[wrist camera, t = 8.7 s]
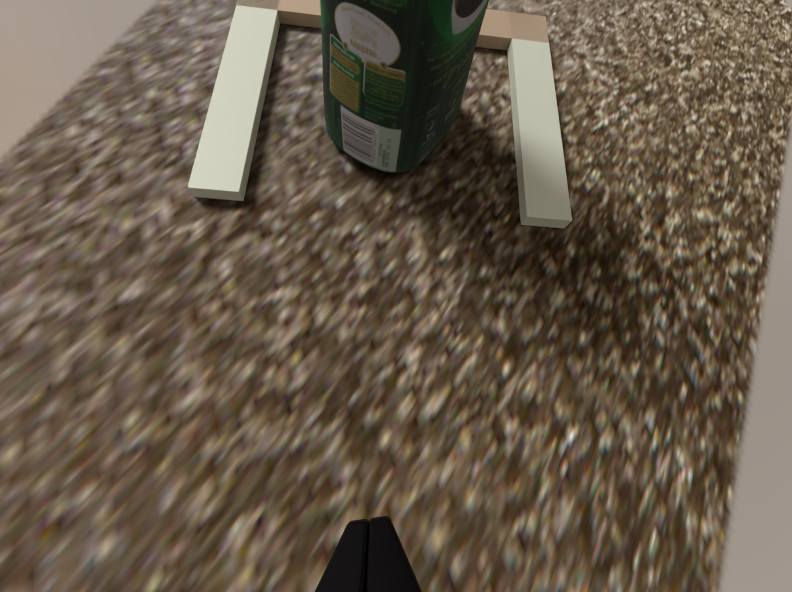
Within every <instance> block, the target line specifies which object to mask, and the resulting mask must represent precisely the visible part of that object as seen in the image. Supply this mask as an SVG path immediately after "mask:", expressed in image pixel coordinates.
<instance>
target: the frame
mask: <svg viewBox="0 0 792 592" xmlns="http://www.w3.org/2000/svg"><path fill="white" fill-rule="evenodd" d="M280 24H288V25H296V26H305V27H313V28H321V9H320V0H238V1H237V5H236V9H235V12H234V16H233V20H232V24H231V27H230V31H229V35H228V39H227V42H226V46H225V50H224V53H223V57H222V61H221V65H220V68H219V72H218V76H217V80H216V83H215V87H214V91H213V95H212V98H211V102H210V106H209V110H208V113H207V117H206V121H205V124H204V128H203V132H202V136H201V139H200V143H199V147H198V151H197V154H196V158H195V162H194V166H193V169H192V173H191V177H190V180H189V184H188V189H189V190H190V191H191V193H192V194H193V196H194V197H200V198H212V199H224V200H236V201H244V197H245V192H246V187H247V182H248V177H249V173H250V168H251V163H252V158H253V153H254V148H255V144H256V139H257V134H258V129H259V124H260V119H261V114H262V110H263V105H264V100H265V95H266V90H267V85H268V80H269V76H270V71H271V66H272V61H273V56H274V51H275V46H276V42H277V37H278V32H279V27H280ZM476 47H482V48H490V49H499V50H507V55H508V67H509V80H510V93H511V106H512V118H513V131H514V144H515V157H516V169H517V182H518V195H519V208H520V220H521V225H529V226H541V227H553V228H565V227H566V226H567V225H568V224H569V223H570V222H571V221H572V215H571V208H570V200H569V192H568V185H567V177H566V169H565V162H564V154H563V147H562V139H561V131H560V124H559V116H558V108H557V101H556V93H555V85H554V78H553V70H552V62H551V55H550V47H549V39H548V32H547V24H546V17H545V16H537V15H530V14H522V13H514V12H506V11H498V10H490V9H486V12H485V16H484V19H483V22H482V26H481V30H480V33H479V37H478V40H477V44H476Z"/></svg>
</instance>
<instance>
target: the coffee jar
mask: <svg viewBox="0 0 792 592" xmlns="http://www.w3.org/2000/svg"><path fill="white" fill-rule="evenodd" d="M488 1H489V0H320V9H321V29H322V57H323V93H324V109H325V122H326V129H327V132H328V134H329V136H330V138H331V139H332V141H333V142H334V143H335V144H336V145H337V146H338V147H339V148H340V149H341V150H342V151H344V152H345V153H346V154H347V155H349V156H350V157H352V158H353V159H355V160H356V161H358V162H360V163H362V164H364V165H365V166H367V167H370V168H373V169H376V170H379V171H382V172H387V173H403V172H407V171H410V170H411V169H413V168H415V167H417V166H418V165H419V164H420V163H421V162H422V161H423V160H424V159H425V158H427V156H428V155H429V154H430V153H431V152H432V151H433V150H434V149H435V148H436V147H437V145H438V144H439V143H440V141H441V140H442V139H443V137H444V136H445V135H446V133H447V132H448V130H449V129H450V127H451V125H452V123H453V122H454V120H455V118H456V116H457V113H458V111H459V107H460V104H461V101H462V97H463V93H464V90H465V86H466V83H467V79H468V74H469V71H470V67H471V63H472V59H473V55H474V52H475V48H476V44H477V40H478V37H479V33H480V30H481V26H482V22H483V19H484V16H485V12H486V8H487V5H488Z"/></svg>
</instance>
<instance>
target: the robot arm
mask: <svg viewBox="0 0 792 592" xmlns="http://www.w3.org/2000/svg"><path fill="white" fill-rule="evenodd" d="M315 592H422V591H421V589H420V586H419V584H418V582H417V579H416V577H415V575H414V572H413V570H412V568H411V565H410V563H409V561H408V558H407V556H406V554H405V551H404V549H403V547H402V544H401V542H400V540H399V537H398V535H397V533H396V530H395V528H394V526H393V523H392V521H391V519H390V517H389V516H382V517H375V518H371V519H370V521H369V520H367V519H361V520H354V521H350V522H349V523H348V524H347V526H346V528H345V530H344V532H343V534H342V536H341V538H340V540H339V543H338V545H337V547H336V549H335V551H334V553H333V555H332V557H331V559H330V561H329V563H328V565H327V568H326V570H325V572H324V574H323V576H322V578H321V580H320V582H319V584H318V586H317V588H316V590H315Z"/></svg>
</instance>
